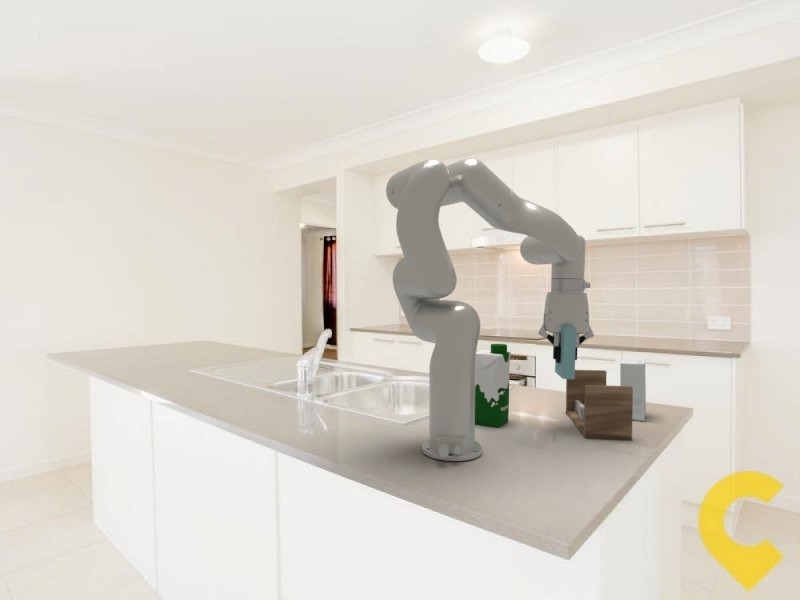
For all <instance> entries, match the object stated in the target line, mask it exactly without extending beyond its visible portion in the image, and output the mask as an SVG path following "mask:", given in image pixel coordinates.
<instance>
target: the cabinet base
mask: <svg viewBox="0 0 800 600" xmlns="http://www.w3.org/2000/svg"><path fill="white" fill-rule="evenodd" d="M565 380H566V382H565V384H566V385H565V414H566V415H567V417H568V418H569V417H570V418H569V419H570V420H571V422H572V421H573V424H574V425H575V427H576V426H577V427H576V428H577V430H578V431H579V430H580V431H579V432H580V433H581V434H582V436H583V437H584V438H585V439H587V438H588V439H589V440H609V441H610V440H613V441H614V440H615V441H631V440H632V441H633V420H632V408H633V387H631V386H621V385H607V370H605V369H603V370H600V369H595V370H594V369H575V379H565ZM588 439H587V440H588Z"/></svg>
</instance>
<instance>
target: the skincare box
mask: <svg viewBox="0 0 800 600" xmlns="http://www.w3.org/2000/svg"><path fill="white" fill-rule="evenodd" d="M619 365H620V368H619V369H620V379H619V380H620V386H631V387H633V408H632V421H637V422H645V421H646V418H645V417H646V416H647V415H646V414H647V406H646V404H647V399H646V398H647V397H646V396H647V395H646V391H647V389H646V385H647V384H646V360H634V359H633V360H632V359H631V360H630V359H623V360H621V361H620V364H619Z"/></svg>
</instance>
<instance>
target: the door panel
mask: <svg viewBox="0 0 800 600" xmlns="http://www.w3.org/2000/svg"><path fill="white" fill-rule="evenodd" d="M559 344H560V347H561V360H560V363H557V362H554V372H555V373H556V374H557V375H558V377H560V378H561V379H562V380H566V379H575V370H576V360H575V350H576V327H564V326H562V333H560V339H559Z"/></svg>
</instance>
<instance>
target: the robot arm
mask: <svg viewBox="0 0 800 600" xmlns="http://www.w3.org/2000/svg"><path fill="white" fill-rule="evenodd" d="M385 193H386V198H387V200H388V203H390V205H391V206H392V207H394V209H397V213H396V219H395V220H396V221H395V222H396V223H395V230H396V236H397V239H398V242H399V246H400V248H401V251H402V254H403V257H402V258H401V259H399V260H398V261H397V262H396V263H395V266H394V268H393V271H392V285H393V289H394V291H395V295H396V298H397V299H398V301H399V305H400V307H401V310H402V312H403V314H404V317H405V319H406V321H407V324H408V326H409V328H410V330H411V332H412V334H414V335H415V336H416V338H418V339H419V340H421V341H424V342H427V343H432V344H434V347H433V350H432V353H431V357H430V360H429V369H428V370H429V373H428V374H429V376H428V377H429V387H428V388H429V395H428V396H429V408H428V409H429V411H428V412H429V413H428V414H429V415H428V416H429V417H428V419H429V420H428V421H429V422H428V423H429V424H428V425H429V427H428V429H429V430H428V431H429V433H428V434H429V436H428V439H426V440H425V441H423V442H422V443H421V451H422V454H424V455H425V456H427V457H429V458H431V459H435V460H439V461H446V462H465V461H470V460H474V459H477V458H478V457H480V456H481V455H482V453H483V446H482V445H481V443H479V442H478V441H476V424H475V360H476V352H477V348H478V343H479V339H480V333H481V320H480V316H479V314H478V312H477V310H476V309H475V308H474V307H473V306H471V304H469V303H466V302H464V301H461V300H460V301H459V300H449V299H448V300H447V299H446V300H445V299H443V298H446V297H449V296H450V295H451V294H453V292H454V291H455V289H456V287H457V281H458V279H457V273H456V270H455V268H454V264H453V262H452V259H451V257H450V253H449V251H448V249H447V246H446V243H445V241H444V238H443V234H442V231H441V227H440V224H439V217H440V210H441V207H445V206H449V205H454V204H458V203H465V205H467V206H468V207H469V208H470V209H471V210H473V211H474V212H475V213H476V215H479V216H480V217H481V218H482V219H483V220H485V222H486V223H488V225H490V226H491V227H493V228H494V229H496V230H500V231H504V232H508V233H515V234H521V235H525V238H523V239H522V241H521V243H520V245H519V252H520V255H521V257H522V258H523V260H524V261H525V262H527V263H528V264H532V265H551V275H550V276H551V277H550V280H551V282H550V291H547V292H546V296H545V302H544V311H543V319H542V320H543V321H542V325H541V326H540V328H539V330H538V332H537V333H538V335H539V336H540V337H543V338H545V339H547V340H548V341H549V342H550V344H551V345H552V346H553V347H552V349H553V350H552V352H553V353H552V360H555V362H557V363H560V360H561V347H560V344H559V339H560V333H562V326H564V327H576V350H575V361H578V348H579V347H580V346H581V344H583V342H585V341H586V340H587V341H588V340H589V339H592V338H594V337H595V334H594V332H593V330H592V327H591V325H590V309H589V307H590V306H589V300H588V299H589V298H588V295H587V293H586V292H584V291H585V290H586V289H590V288H591V282H588V281H586V279H585V270H586V269H585V267H586V266H585V265H586V264H585V263H586V262H585V261H586V239H585V238H584V237H583V235H578V234H577V232H576V231H575V229H574V228H573V227H572V226H571V225H570V224H569V223H568V222H567V221H566V220H565V219H564V218H563V217H561V216H560V214H558V213H557V212H554V211H552V210H550V209H548V208H546V207H544V206H541V205H539V204H537V203H534V202H532V201H530V200H527V199H525V198H522V197H520V196H519V195H518V194H516V193H515V192H514V190H513V189H512V188H510V187H509V186H508V185H507V184H506V183H505V182H504V181H503V180H501V179H500V178H499V176H498V175H497V174H495V173H494V172H493V171H492V170H491V169H490V168H489V166H487V165H486V164H485V163H483V162H482V161H481V160H479V159H477V158H464V159H461V160H458V161H456V162H453V163H451V164H448V165H446V164H445V163H443V162H442V161H440V160H439V159H428V160H427V159H426V160H423V161H419V162H418V163H415V164H413V165H410V166H409V167H407V168H404V169H402V170H399V171H398V172H395V173H394V174H393V175H392V176H390V178H389V180H388V181H387V184H386V187H385ZM547 332H548V333H547ZM549 333H551V334H552V335H551V334H549ZM555 362H554V363H555Z"/></svg>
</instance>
